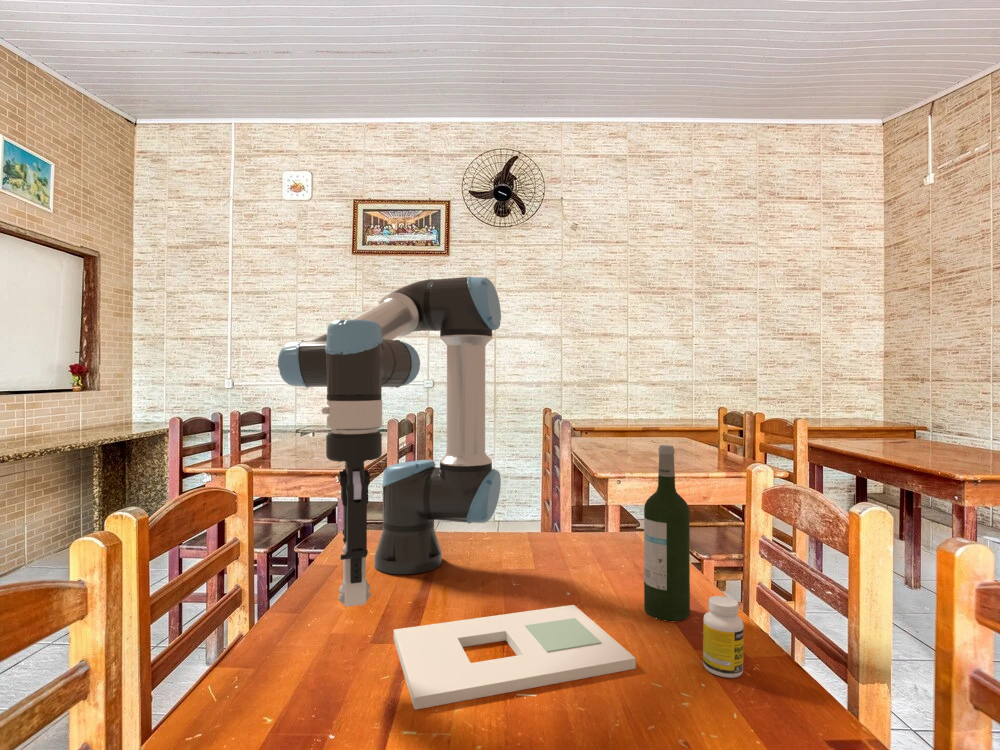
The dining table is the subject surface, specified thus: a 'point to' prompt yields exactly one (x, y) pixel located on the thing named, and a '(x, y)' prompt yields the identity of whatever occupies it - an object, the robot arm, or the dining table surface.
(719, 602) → the supplement bottle
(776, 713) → the dining table surface
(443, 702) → the hole board
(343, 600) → the rook chess piece
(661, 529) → the wine bottle
